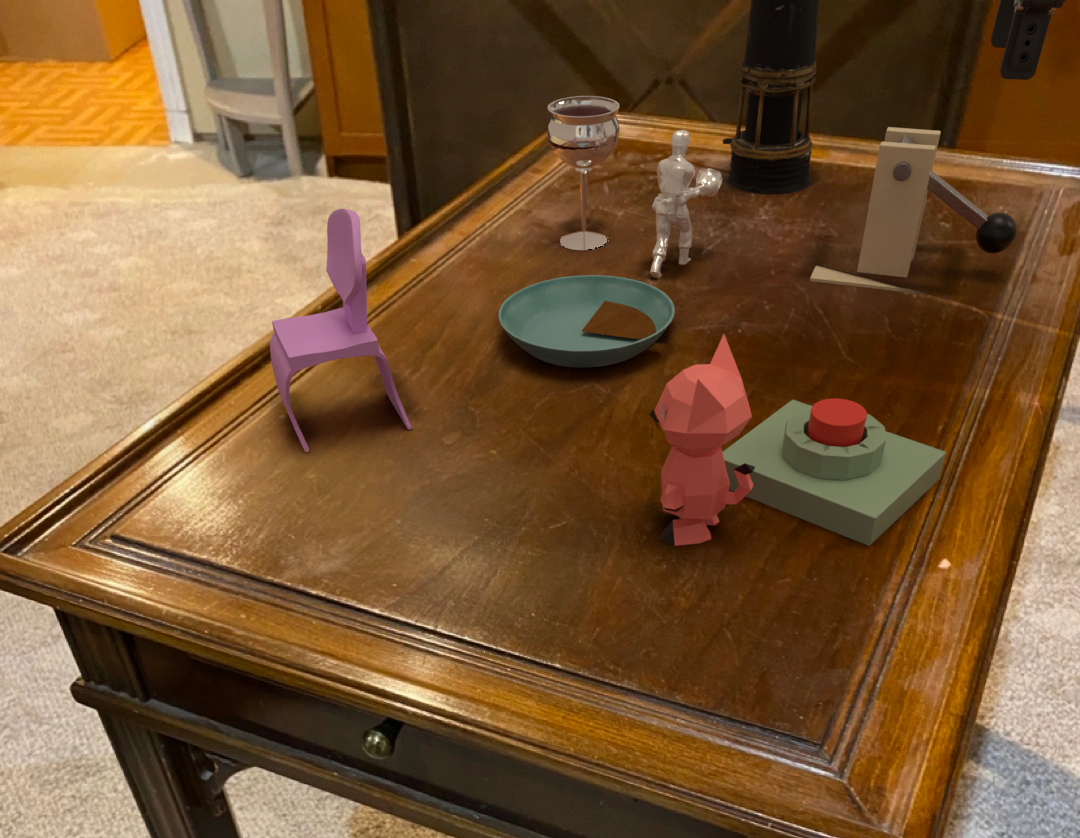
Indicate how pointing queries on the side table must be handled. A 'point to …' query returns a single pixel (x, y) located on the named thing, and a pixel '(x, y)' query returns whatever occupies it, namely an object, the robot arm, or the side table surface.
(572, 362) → the saucer
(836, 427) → the button
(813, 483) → the button block
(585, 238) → the wineglass
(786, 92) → the lantern
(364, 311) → the toy chair
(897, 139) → the bracket
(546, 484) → the side table surface
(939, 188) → the lever
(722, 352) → the cat figurine
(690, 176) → the figurine
